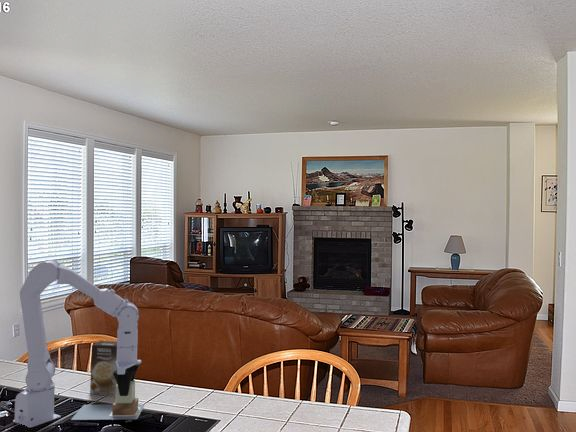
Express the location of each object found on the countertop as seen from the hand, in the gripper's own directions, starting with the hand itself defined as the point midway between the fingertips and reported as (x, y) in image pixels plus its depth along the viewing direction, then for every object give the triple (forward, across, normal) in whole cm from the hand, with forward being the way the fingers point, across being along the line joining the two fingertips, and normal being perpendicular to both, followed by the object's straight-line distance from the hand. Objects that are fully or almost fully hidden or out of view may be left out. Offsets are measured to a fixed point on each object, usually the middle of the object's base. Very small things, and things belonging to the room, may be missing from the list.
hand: (125, 392), depth 151 cm
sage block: (+2, 0, 0) cm, 2 cm away
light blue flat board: (+6, 0, +4) cm, 7 cm away
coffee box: (+6, +18, +10) cm, 22 cm away
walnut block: (+6, 0, 0) cm, 6 cm away
